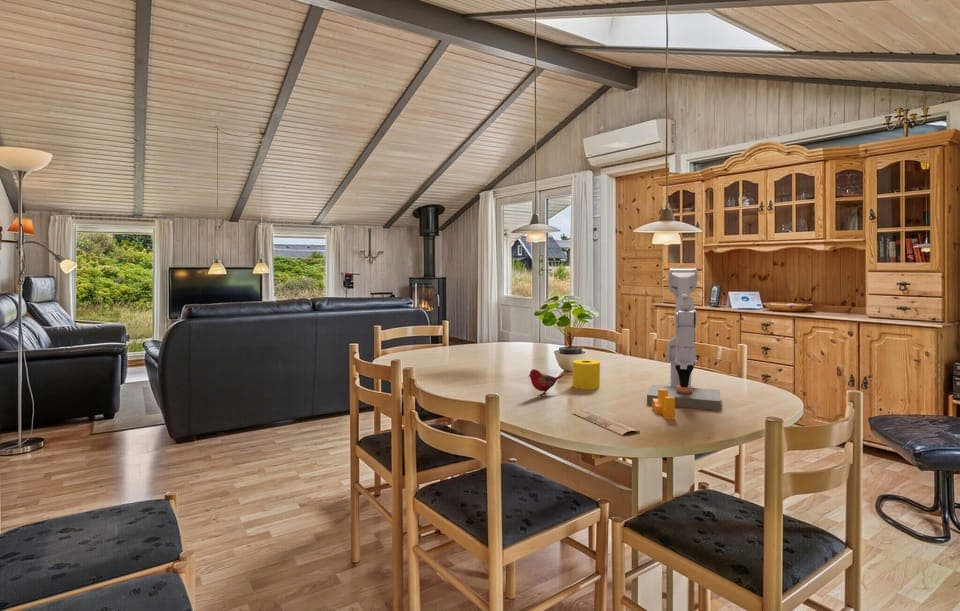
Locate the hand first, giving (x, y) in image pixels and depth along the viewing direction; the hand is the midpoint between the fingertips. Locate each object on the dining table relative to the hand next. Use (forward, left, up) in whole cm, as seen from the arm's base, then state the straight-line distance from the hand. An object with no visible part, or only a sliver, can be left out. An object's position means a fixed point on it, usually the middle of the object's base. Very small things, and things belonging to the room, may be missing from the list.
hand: (684, 386), depth 178 cm
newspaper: (+35, -21, -6) cm, 41 cm away
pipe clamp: (+18, -5, -5) cm, 19 cm away
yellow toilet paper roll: (-10, -35, -5) cm, 37 cm away
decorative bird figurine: (+8, -45, -5) cm, 46 cm away
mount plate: (0, 0, -5) cm, 5 cm away
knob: (0, 0, -4) cm, 4 cm away
